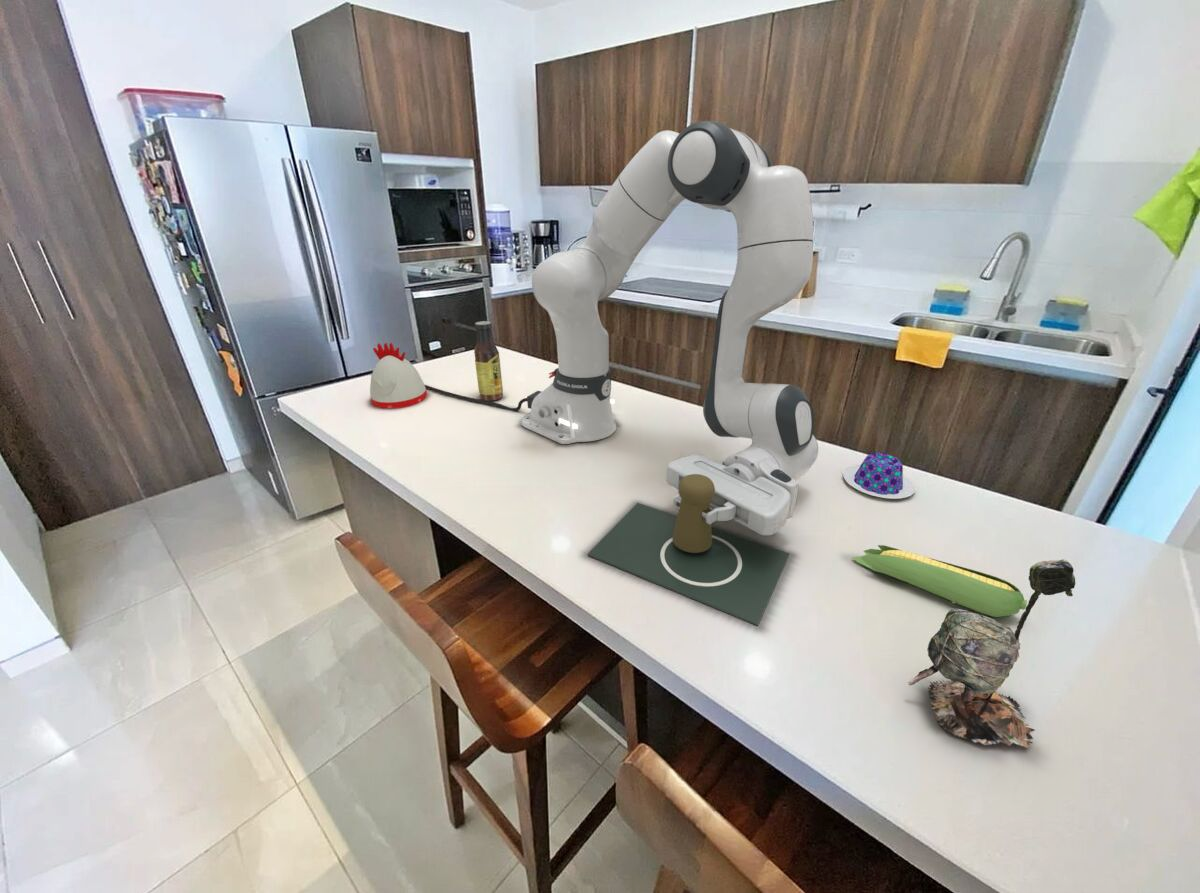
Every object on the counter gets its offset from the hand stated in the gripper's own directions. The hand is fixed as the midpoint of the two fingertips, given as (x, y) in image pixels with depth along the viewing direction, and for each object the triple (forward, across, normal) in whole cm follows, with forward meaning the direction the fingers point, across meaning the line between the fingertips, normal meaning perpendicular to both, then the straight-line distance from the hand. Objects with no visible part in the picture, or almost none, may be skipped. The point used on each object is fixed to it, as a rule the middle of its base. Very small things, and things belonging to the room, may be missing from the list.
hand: (690, 510), depth 73 cm
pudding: (-41, +10, +8) cm, 43 cm away
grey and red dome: (+12, -91, +7) cm, 92 cm away
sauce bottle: (-7, -76, +7) cm, 76 cm away
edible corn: (-19, +27, +8) cm, 34 cm away
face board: (+1, +1, +7) cm, 8 cm away
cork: (-1, 0, +6) cm, 6 cm away
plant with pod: (-2, +37, +8) cm, 38 cm away
